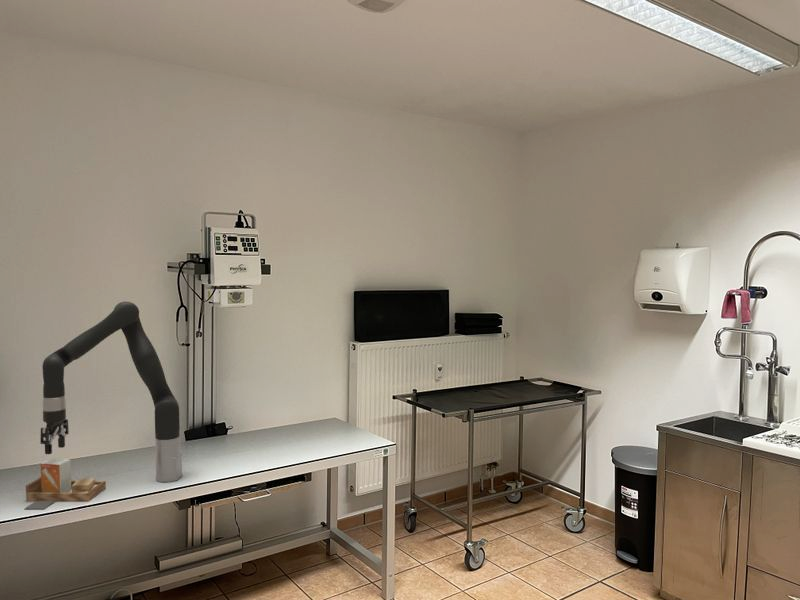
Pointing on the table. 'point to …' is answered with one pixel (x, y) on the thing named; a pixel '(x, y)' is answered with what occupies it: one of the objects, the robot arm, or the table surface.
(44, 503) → the mat
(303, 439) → the table surface
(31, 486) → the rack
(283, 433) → the table surface
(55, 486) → the small box
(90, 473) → the table surface
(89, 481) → the offcut top
